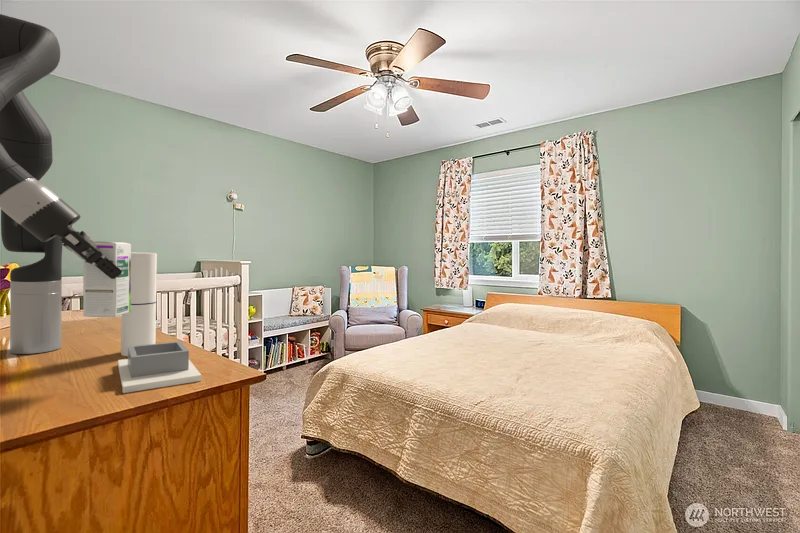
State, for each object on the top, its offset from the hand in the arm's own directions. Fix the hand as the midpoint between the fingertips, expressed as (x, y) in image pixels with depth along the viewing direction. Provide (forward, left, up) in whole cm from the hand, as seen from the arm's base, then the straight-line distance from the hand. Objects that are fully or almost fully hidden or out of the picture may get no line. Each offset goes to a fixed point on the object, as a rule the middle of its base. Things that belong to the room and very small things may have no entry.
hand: (117, 274), depth 77 cm
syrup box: (0, -2, -8) cm, 8 cm away
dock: (0, +7, -21) cm, 22 cm away
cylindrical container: (-20, +5, -21) cm, 30 cm away
